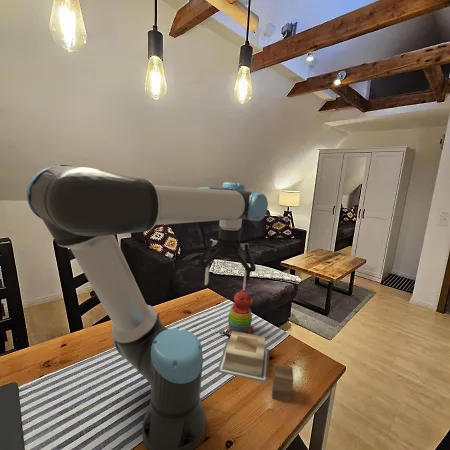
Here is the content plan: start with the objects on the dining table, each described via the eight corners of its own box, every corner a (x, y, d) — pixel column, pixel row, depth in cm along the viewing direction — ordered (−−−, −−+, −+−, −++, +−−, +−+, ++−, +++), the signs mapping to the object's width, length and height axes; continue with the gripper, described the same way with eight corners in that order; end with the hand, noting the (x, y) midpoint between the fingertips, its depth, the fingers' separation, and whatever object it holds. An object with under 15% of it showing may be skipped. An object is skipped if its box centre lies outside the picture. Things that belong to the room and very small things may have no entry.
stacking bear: (250, 344, 96) (255, 300, 93) (224, 339, 98) (228, 296, 95) (253, 328, 107) (257, 288, 104) (229, 324, 109) (233, 285, 105)
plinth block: (261, 376, 80) (263, 359, 79) (224, 368, 83) (225, 351, 81) (263, 351, 92) (265, 336, 91) (230, 345, 94) (232, 330, 93)
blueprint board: (267, 384, 78) (267, 382, 78) (216, 372, 81) (216, 371, 81) (269, 350, 94) (269, 349, 94) (226, 342, 97) (226, 340, 96)
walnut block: (289, 404, 72) (293, 379, 70) (271, 400, 73) (274, 375, 71) (289, 390, 76) (292, 367, 75) (272, 386, 77) (275, 363, 76)
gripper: (266, 229, 90) (260, 286, 93) (197, 222, 93) (193, 277, 96) (266, 234, 82) (259, 295, 86) (192, 225, 85) (188, 285, 89)
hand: (225, 286), depth 91 cm, fingers open, 13 cm apart
